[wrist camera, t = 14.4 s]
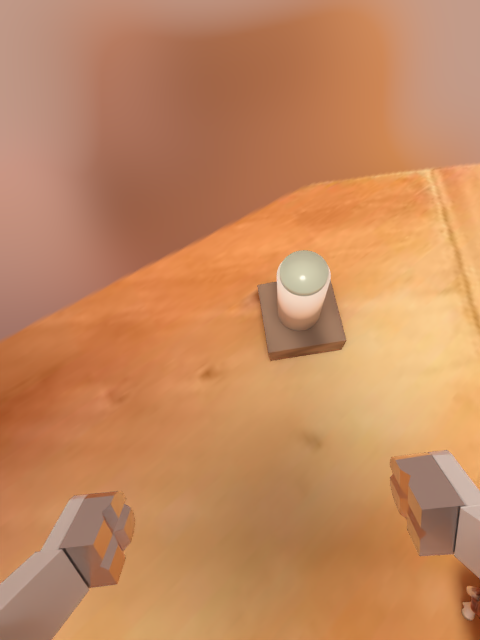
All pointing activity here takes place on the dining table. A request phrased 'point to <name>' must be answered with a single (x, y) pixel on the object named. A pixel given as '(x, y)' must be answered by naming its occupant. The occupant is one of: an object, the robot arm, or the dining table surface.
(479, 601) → the bull figurine
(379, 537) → the dining table surface
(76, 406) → the dining table surface
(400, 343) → the dining table surface
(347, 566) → the dining table surface
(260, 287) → the plinth
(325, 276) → the jar
